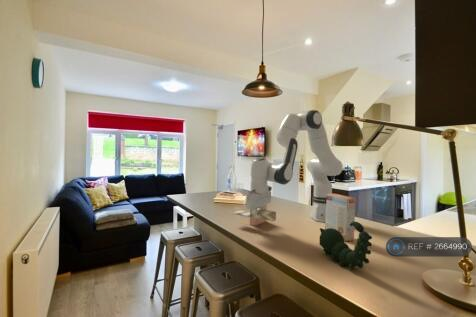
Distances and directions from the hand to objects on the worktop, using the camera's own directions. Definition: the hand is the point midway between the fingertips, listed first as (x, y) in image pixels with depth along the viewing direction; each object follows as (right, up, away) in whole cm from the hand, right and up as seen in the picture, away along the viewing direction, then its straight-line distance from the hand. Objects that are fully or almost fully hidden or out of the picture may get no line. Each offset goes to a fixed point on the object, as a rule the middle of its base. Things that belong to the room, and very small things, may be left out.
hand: (258, 214), depth 129 cm
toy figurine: (+29, -11, -34) cm, 46 cm away
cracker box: (+40, -10, -6) cm, 42 cm away
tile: (+1, -8, +13) cm, 15 cm away
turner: (-2, -2, +1) cm, 3 cm away
